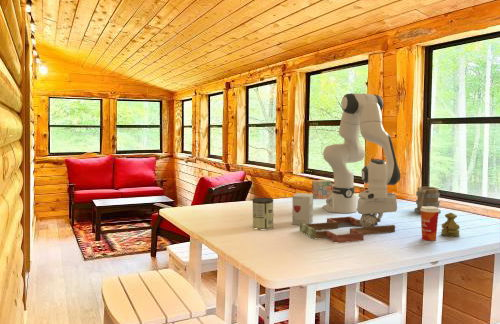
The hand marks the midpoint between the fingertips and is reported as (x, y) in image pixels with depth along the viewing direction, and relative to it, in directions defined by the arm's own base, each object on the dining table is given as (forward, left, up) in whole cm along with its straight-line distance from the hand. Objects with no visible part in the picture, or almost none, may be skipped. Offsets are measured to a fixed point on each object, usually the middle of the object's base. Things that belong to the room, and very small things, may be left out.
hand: (377, 222), depth 203 cm
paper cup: (+23, +11, -4) cm, 26 cm away
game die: (0, -5, -3) cm, 6 cm away
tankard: (-23, +46, -4) cm, 51 cm away
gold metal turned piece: (+20, +25, -4) cm, 32 cm away
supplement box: (-22, -29, -4) cm, 37 cm away
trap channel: (0, -16, -3) cm, 16 cm away
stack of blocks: (-85, +17, -4) cm, 87 cm away
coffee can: (-20, -51, -4) cm, 55 cm away
